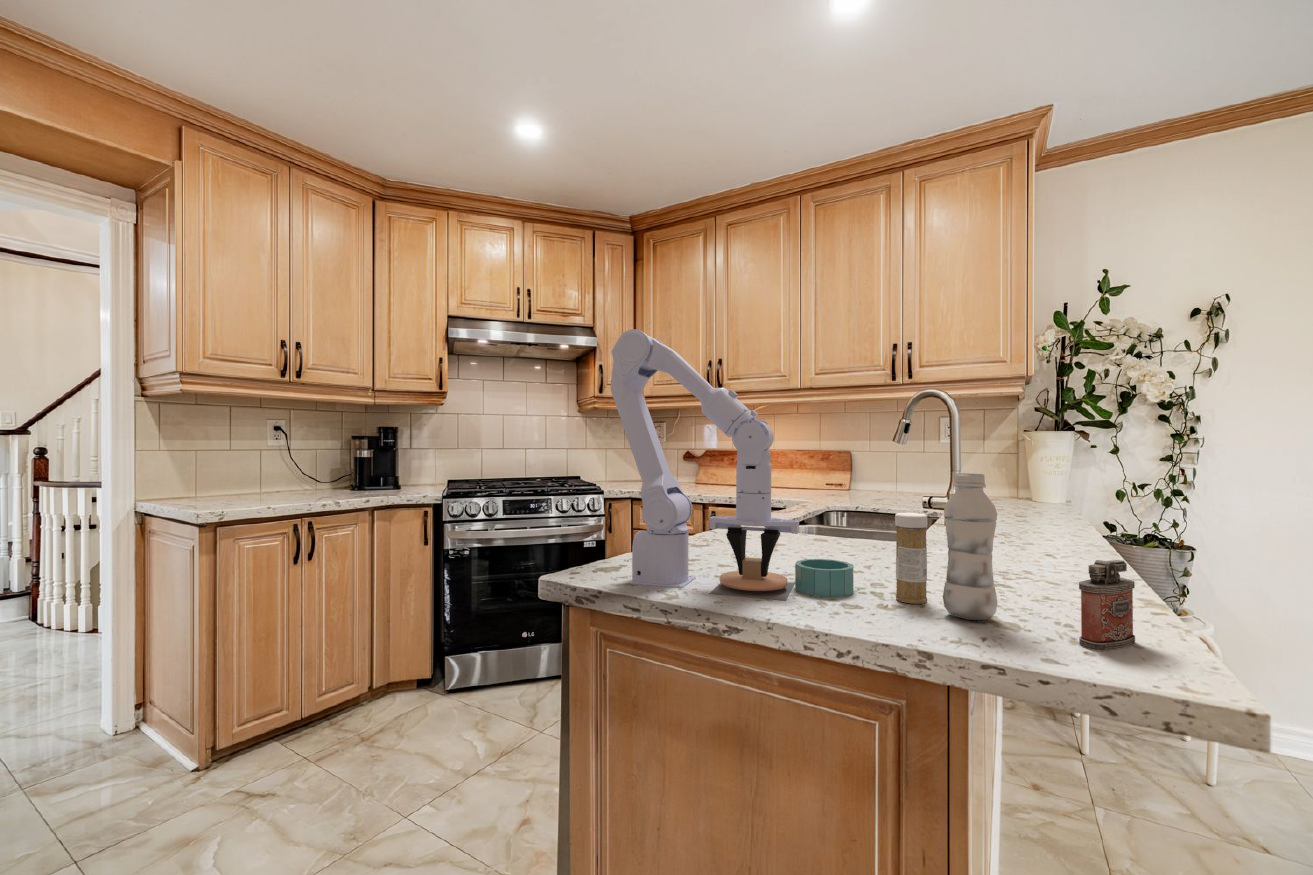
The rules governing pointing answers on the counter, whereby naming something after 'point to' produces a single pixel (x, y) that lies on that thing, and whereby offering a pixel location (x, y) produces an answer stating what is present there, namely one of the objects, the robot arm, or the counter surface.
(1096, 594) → the lighter
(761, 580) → the lid
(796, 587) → the bowl
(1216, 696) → the counter surface
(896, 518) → the sprinkles bottle
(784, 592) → the mat
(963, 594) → the plastic bottle
